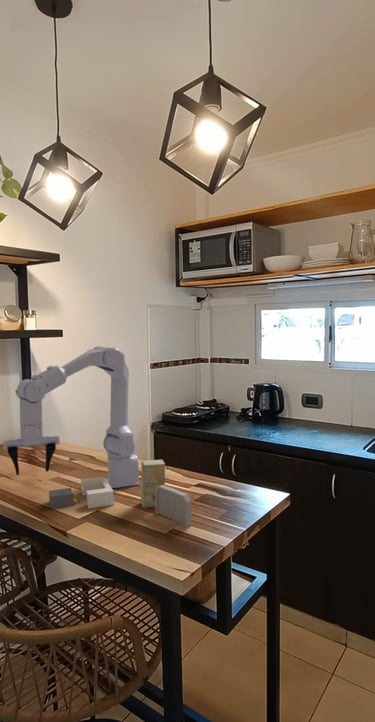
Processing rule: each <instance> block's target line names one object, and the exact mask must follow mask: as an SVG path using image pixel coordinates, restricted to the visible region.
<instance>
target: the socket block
mask: <svg viewBox="0 0 375 722" xmlns="http://www.w3.org/2000/svg"><path fill="white" fill-rule="evenodd" d="M106 479H107V478H106V477H105V476H98V477H91V478H81V479H80V485H81V486H80V488H81V489H80V491H81V494H82V496H83V497H84V496H86V507H87V509H95V508H102V507H109V506H114V504H115V503H114V501H115V500H114V489H113V488H111V486H110V485H109V483H108V482H107V480H106Z"/></svg>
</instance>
